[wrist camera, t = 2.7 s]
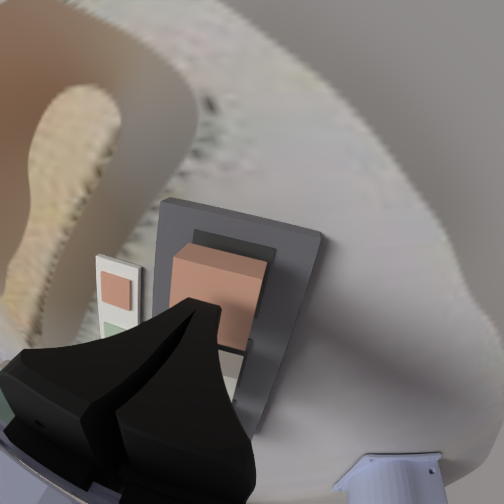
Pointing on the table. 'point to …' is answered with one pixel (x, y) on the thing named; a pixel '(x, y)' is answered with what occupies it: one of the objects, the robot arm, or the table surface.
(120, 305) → the card
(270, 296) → the dark grey base plate
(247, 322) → the key terracotta
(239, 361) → the key ivory
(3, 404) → the coffee cup
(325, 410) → the table surface
